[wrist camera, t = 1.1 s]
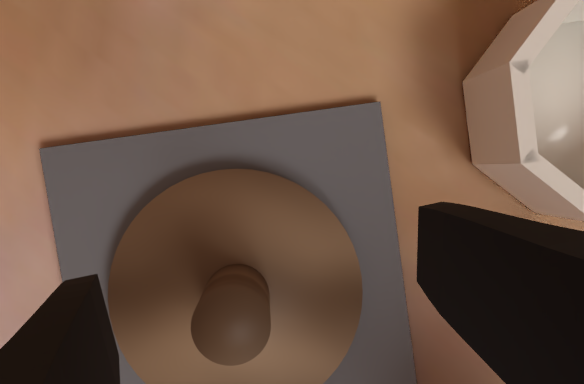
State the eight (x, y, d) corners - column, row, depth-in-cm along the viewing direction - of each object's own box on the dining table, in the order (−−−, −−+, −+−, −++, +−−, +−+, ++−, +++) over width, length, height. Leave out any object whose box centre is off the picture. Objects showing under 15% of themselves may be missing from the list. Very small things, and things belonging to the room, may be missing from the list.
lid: (374, 388, 22) (404, 448, 17) (135, 429, 22) (99, 503, 17) (341, 152, 21) (363, 148, 17) (93, 188, 21) (44, 194, 16)
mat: (419, 419, 23) (422, 423, 22) (100, 474, 22) (97, 480, 22) (377, 102, 22) (380, 101, 21) (43, 148, 21) (39, 148, 21)
